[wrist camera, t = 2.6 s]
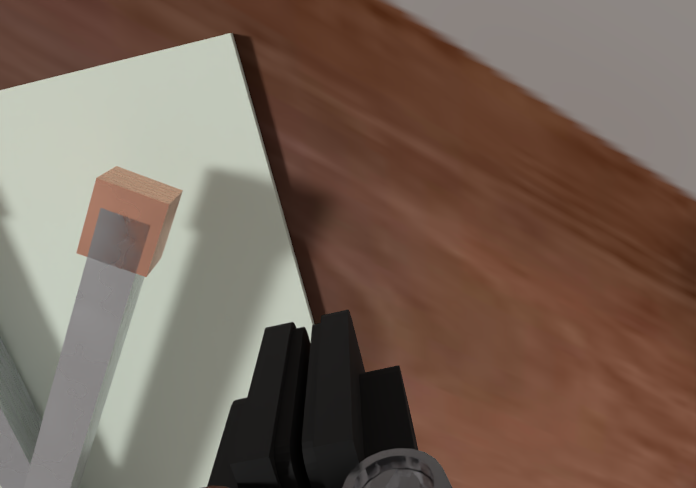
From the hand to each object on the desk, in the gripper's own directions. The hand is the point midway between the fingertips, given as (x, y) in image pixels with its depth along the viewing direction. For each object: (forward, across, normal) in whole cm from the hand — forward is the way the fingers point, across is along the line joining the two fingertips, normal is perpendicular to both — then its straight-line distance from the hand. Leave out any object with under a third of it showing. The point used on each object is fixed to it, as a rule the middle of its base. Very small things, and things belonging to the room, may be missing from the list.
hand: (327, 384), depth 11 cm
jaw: (+12, +12, +4) cm, 17 cm away
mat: (+15, +13, +6) cm, 21 cm away
